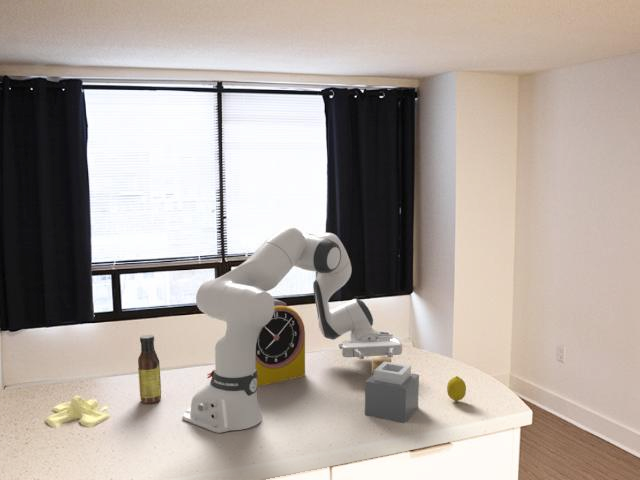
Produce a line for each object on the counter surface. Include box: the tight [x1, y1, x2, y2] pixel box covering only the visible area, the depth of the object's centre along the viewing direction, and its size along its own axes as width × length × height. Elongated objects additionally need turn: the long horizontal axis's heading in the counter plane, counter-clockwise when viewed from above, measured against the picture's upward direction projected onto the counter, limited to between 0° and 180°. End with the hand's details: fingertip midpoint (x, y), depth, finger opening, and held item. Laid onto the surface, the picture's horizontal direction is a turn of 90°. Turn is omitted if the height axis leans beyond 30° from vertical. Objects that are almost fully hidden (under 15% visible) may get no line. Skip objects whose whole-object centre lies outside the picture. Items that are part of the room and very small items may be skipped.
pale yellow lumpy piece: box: [44, 394, 112, 429], centre depth 177 cm, size 22×19×6 cm
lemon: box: [446, 375, 467, 403], centre depth 185 cm, size 6×6×8 cm
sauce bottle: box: [137, 334, 162, 404], centre depth 184 cm, size 6×6×20 cm
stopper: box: [371, 355, 392, 376], centre depth 190 cm, size 6×6×11 cm
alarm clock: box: [256, 298, 306, 387], centre depth 203 cm, size 21×9×26 cm, turn 123°
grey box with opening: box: [364, 361, 420, 424], centre depth 177 cm, size 12×12×13 cm
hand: (376, 355), depth 198 cm, fingers open, 8 cm apart
